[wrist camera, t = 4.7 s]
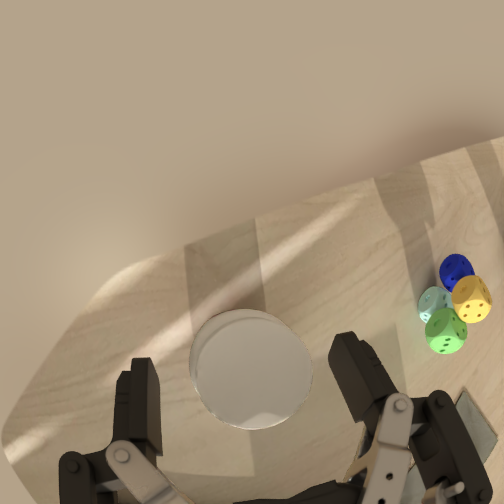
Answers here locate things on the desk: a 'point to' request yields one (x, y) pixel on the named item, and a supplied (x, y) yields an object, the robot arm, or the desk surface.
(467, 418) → the grey relief plate
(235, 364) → the pill bottle
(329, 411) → the desk surface
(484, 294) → the dice
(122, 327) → the desk surface
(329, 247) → the desk surface
